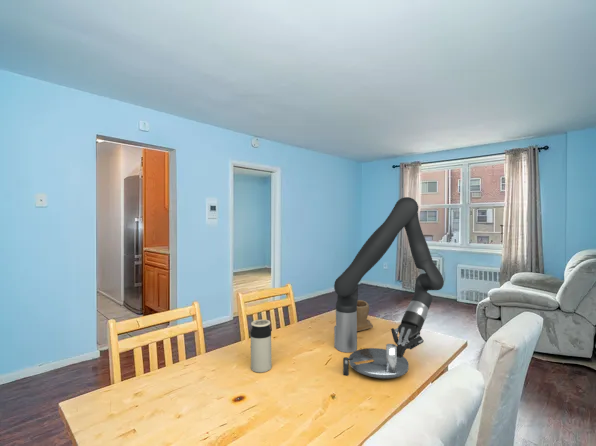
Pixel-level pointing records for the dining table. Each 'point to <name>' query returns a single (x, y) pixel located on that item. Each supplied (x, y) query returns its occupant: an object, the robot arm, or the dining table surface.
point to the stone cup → (363, 316)
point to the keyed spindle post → (346, 365)
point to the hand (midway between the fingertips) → (397, 356)
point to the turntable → (379, 362)
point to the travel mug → (261, 346)
